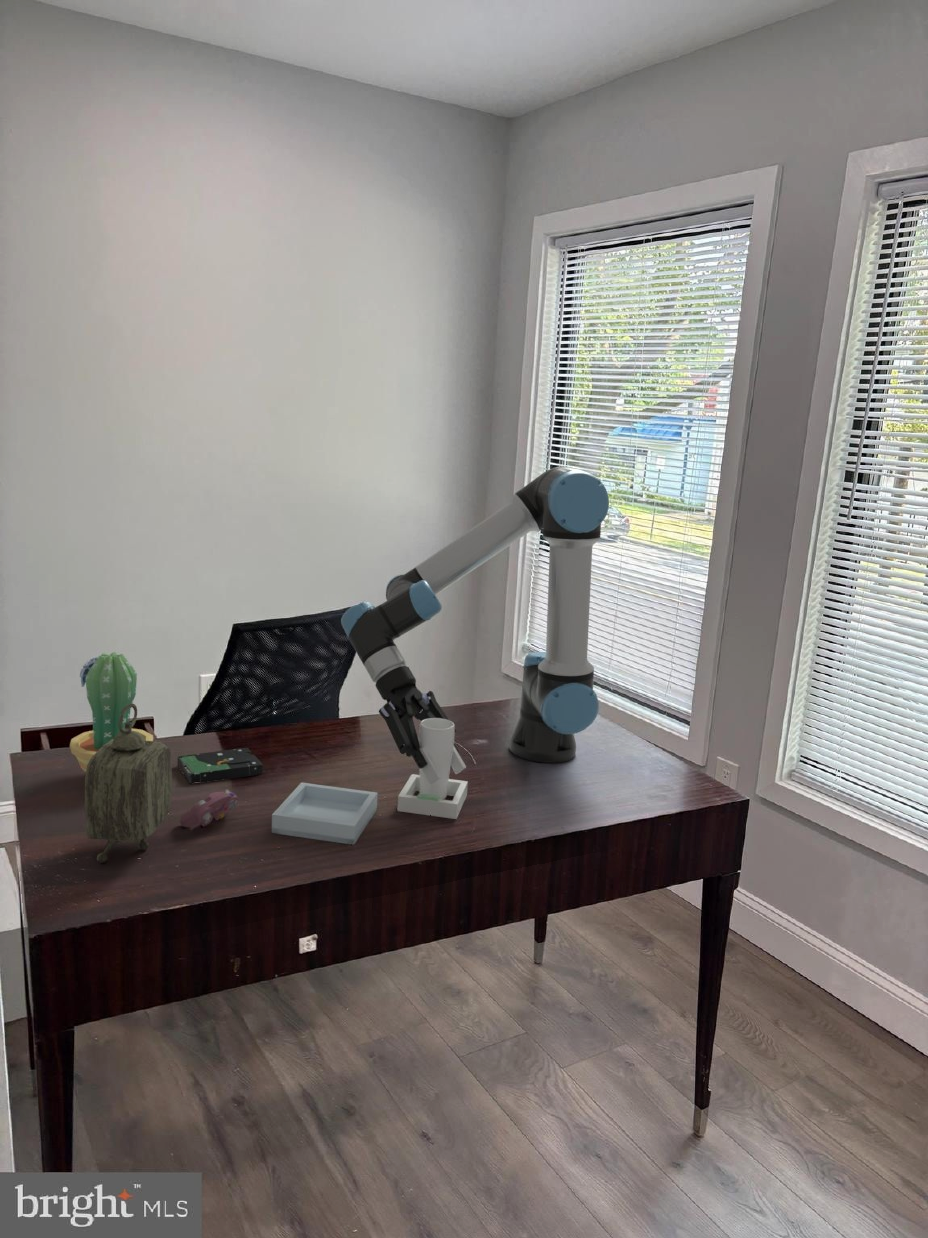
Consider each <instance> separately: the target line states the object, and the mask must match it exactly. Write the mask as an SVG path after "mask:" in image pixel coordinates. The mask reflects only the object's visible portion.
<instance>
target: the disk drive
mask: <svg viewBox="0 0 928 1238" xmlns="http://www.w3.org/2000/svg"><path fill="white" fill-rule="evenodd" d="M178 767H179V768H180V769H181V771H182V772H183V773H184V775H185V776H184V775H183V776H184V778H185V777H186V778H187V779H188V781H189V782H190V783H194V782H205V783H208V782H207V781H211V782H215V781H214V780H218V781H223V780H222V779H225V780H230V778H232V779H239V778H243V777H251V776H259V775H262V774H263V771H264V764H263V763H262V762H261V761H260V760H259V758H257V756H256V755H255V754H252V751H251V750H250V749H249V747H241V748H239V747H238V748H234V749H225V750H218V751H217V750H216V751H210V752H209V751H208V752H203V753H201V752H200V753H195V754H194V753H193V754H186V755H180V756H177V768H178ZM179 768H178V769H179ZM180 769H179V770H180ZM181 771H180V772H181ZM182 772H181V773H182ZM186 778H185V779H186ZM187 779H186V780H187ZM188 781H187V782H188ZM189 782H188V783H189ZM190 783H189V784H190Z"/></svg>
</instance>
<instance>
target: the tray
mask: <svg viewBox="0 0 928 1238" xmlns="http://www.w3.org/2000/svg"><path fill="white" fill-rule="evenodd" d="M378 793H379V792H375V791H368V790H362V789H361V790H360V789H354V788H353V789H352V788H346V787H345V788H344V787H339V786H332V785H331V786H330V785H323V784H315V783H308V782H300V783H299V784H298V785H297V787H295V789H294V790H293V791H292V792H291V793H290V794H289V795H288V796H287V798H286V799H285V800H284V801H283V802H282V803H281V804H280V805H279V807H277V809H275V810H274V812H273V813H272V814H271V834H276V835H284V836H291V837H298V838H303V839H311V840H318V841H324V842H331V843H337V844H338V843H339V844H346V845H351V844H352V846H354V845H355V844H356V842H357V841H358V840H359V838H360V836H361V835H362V833H363V832H364V830H366V827H367V826H368V824H369V822H370V821H371V820H372V818H373V816H374V814H376V812H377V811H378Z"/></svg>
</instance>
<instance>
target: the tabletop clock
mask: <svg viewBox="0 0 928 1238" xmlns="http://www.w3.org/2000/svg"><path fill="white" fill-rule="evenodd" d="M130 708H131V709H133V711H134V712H133V713H134V714H133V718H132V720H131V721H130V720H129V721H128V722H126V723H125V729H122V720H123V717H124V715H125V713H126V712H127V711H128V710H129V709H130ZM137 717H138V709H137V705H136V704H135V703H134V702H133V703H131V704H128V705H127V706H126V707H125V708H124V709H123V710H122V712H121V714H120V717H119V725H118V726H119V730H120V732H121V733H118V734H117V735H116V736H115V738H114V739H112V740H110V741H109V742H107V743H106V744H105V745H103V746H102V747H101V748H100V749H99V750H98V751H97V752H96V753H95V754H94V755H93V756H92V758H91V759H90V761H89V763H88V765H87V768H86V773H85V778H84V815H85V829H86V834H87V838H88V839H92V840H102V841H107V844H106V845H105V848H104V850H103V852H100V853H98V854H97V856H96V860H97V862H98V863H99V864H104V863H106V862H107V860H108V855H107V854H108V852H109V850H110V849H111V848H112V847H113V845H114V844H115V842H127V843H137V842H139V843H138V848H139V850H141V851H146V850H148V848H149V842H148V841H147V840H145V839H146V838H148V837H150V836H151V835H153V834H154V832H156V830H157V829H158V828H159V827H160V826H161V824H162V823H163V822H164V820H165V819H166V817H167V816H168V814H169V811H170V810H171V809H170V808H171V801H172V755H171V754H172V753H171V748H170V747H168V746H167V745H166V744H164V743H163V742H161V741H156V740H153V741H144V738H143V737H142V735H141V734H139V733H138V732H136V731H132V729H133V728H134V726H135V724H136V722H137Z"/></svg>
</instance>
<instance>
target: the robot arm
mask: <svg viewBox="0 0 928 1238" xmlns="http://www.w3.org/2000/svg"><path fill="white" fill-rule="evenodd" d="M609 499H610V498H609V494H608V491H607V489H606V487H605V485H604V484H603V482H602V481H601V480H600V479H599V478H598V477H597V476H595V475H594V474H592V473H591V472H589V471H586V470H584V469H578V468H573V467H571V466H570V467H569V466H564V465H563V466H556V467H552V468H550V469H548V470H545V471H544V472H543V473H541V474H540V475H539V476H537V477H536V478H534V479H533V480H532V481H530V482H529V483H527V484H526V485H525V486H523V487H522V488H521V489H519V490H518V491H516V492H514V494H512V498H511V501H510V502H509V503H507V504H506V505H504V506H503V507H501V508H500V509H498V510H497V511H495V512H494V513H493V514H491V515H490V516H488V517H486V518H485V519H484V520H483V521H481V522H479V523H478V524H476V525H475V526H474V527H472V528H470V529H469V530H468V531H466V532H465V533H463V534H461V535H460V536H459V537H457V538H456V539H455V540H453V541H451V542H450V543H449V544H447V545H446V546H444V547H443V548H440V550H438V551H437V552H436V553H434V554H433V555H431V556H430V557H428V558H427V559H425V560H423V561H422V562H420V563H419V564H417V565H416V566H415V567H414V568H412V569H410V570H409V571H407V572H406V573H404V574H398V575H396V576H394V577H392V578H391V579H390V580H389V582H388V583H387V585H386V590H385V597H386V601H384V602H382V603H381V604H379V605H377V606H374V605H373V604H372V602H370V601H363V602H360V603H358V604H355V605H353V606H351V607H349V608H348V609H347V610H346V611H345V612H343V614H342V616H341V619H340V623H341V626H342V628H343V629H344V633H345V634H346V636H347V639H348V640H349V642H350V644H351V645H352V647H353V649H354V651H355V653H356V654H357V656H358V657H359V659H360V662H361V663H362V664H363V666H364V668H365V670H366V671H367V674H368V675H369V676H370V679H371V681H372V682H373V683H375V688H376V690H377V692H378V694H379V695H380V697H381V698H382V700H383V701H386V703H385V704H384V705H383V706H382V707H380V709H379V710H378V713H379V714H380V716H381V717H382V719H384V721H385V723H386V725H387V727H388V729H389V732H390V734H391V736H392V738H393V740H394V743H395V744H396V746H397V749H398V751H399V753H400V754H401V755H406V757H412V758H413V760H414V762H415V763H416V766H417V767H418V768H420V769H422V771H423V772H424V774H425V776H426V778H427V780H428V781H429V783H430V785H431V784H433V783H434V782H436V781H437V780H438V779H439V778H441V776H440V774H439V772H438V771H437V769H436V767H435V765H434V763H433V762H432V760H431V758H430V756H429V755H428V753H427V751H426V750H425V748H424V747H423V748H421V749H419V748H420V745H419V736H418V733H417V730H416V727H415V726H416V725H415V723H414V719H413V718H415V719H416V720H417V721H418V720H419V721H420V722H421V721H422V720H424V719H428V718H442V719H447V720H450V719H449V718H448V716H447V714H446V712H445V711H444V710H443V708H442V707H441V706H440V704H439V703H438V702H437V699H436V696H435V694H434V692H433V691H432V690H429V691H428V692H427V693H426V692H425V693H424V692H422V691H421V690H419V688H417V684H416V683H417V679H416V677H415V676H414V673H413V672H412V670H411V669H410V667H409V666H407V661H406V660H405V658H404V656H403V655H402V653H401V651H400V649H399V647H397V645H396V643H395V640H397V639H398V638H400V637H401V636H403V635H404V634H406V633H408V632H410V631H411V630H413V629H415V628H416V627H418V626H420V625H422V624H424V623H426V622H428V621H430V620H431V619H432V618H433V617H435V616H437V614H440V612H441V611H442V608H443V607H442V604H441V602H440V600H439V599H438V597H437V595H438V594H440V593H441V592H443V591H445V590H446V589H447V588H449V587H450V586H452V585H453V584H455V583H457V582H458V581H459V580H461V579H462V578H464V577H466V576H467V575H468V574H470V573H471V572H472V571H474V570H475V569H477V568H478V567H480V566H481V565H483V564H484V563H486V562H487V561H488V560H490V559H492V558H494V557H495V556H497V555H498V554H500V553H501V552H502V551H504V550H505V549H507V548H508V547H509V546H511V545H513V544H514V543H516V542H517V541H518V540H520V539H522V538H523V537H524V536H526V535H527V534H529V533H531V532H535V533H539V532H541V531H542V538H544V540H546V542H547V543H548V545H549V554H548V556H549V559H548V584H547V618H546V643H545V644H546V645H545V647H546V648H545V651H534V652H529V653H528V654H526V656H525V658H524V661H523V662H524V663H523V665H522V668H523V669H522V670H523V673H522V683H521V685H522V686H521V695H520V696H521V697H520V711H519V716H518V718H517V722H516V725H515V727H514V729H513V731H512V733H511V736H510V739H509V750H510V752H511V753H512V754H513V755H514V756H516V757H518V758H521V759H523V760H526V761H531V762H535V763H536V762H537V763H545V764H549V763H550V764H554V763H555V764H557V763H564V762H567V761H571V760H572V759H574V758H575V757H576V752H577V742H576V738H575V734H578V733H581V732H583V731H585V730H586V729H587V728H588V727H590V726H591V725H592V724H593V722H594V721H595V720H596V718H597V717H598V713H599V709H600V707H599V699H598V696H597V693H596V692H595V690H594V679H595V678H594V675H595V667H594V665H593V664H592V663H591V662H590V661H589V660H588V650H589V649H588V648H589V629H590V628H589V627H590V625H589V624H590V605H591V586H592V585H591V582H592V580H591V579H592V559H593V546H594V545H595V544H596V543H598V541H600V539H601V535H602V534H601V530H602V528H601V527H602V523H603V521H605V519H606V518H607V514H608V511H609V506H610V500H609ZM456 733H457V730H456V728H455V727H454V734H456ZM459 753H460V752H459V749H458V747H457V745H456V743H454V746H453V753H452V760H451V767H450V768H452V770H453V772H454V774H455V775H458V774H459V773H461V772H462V771H464V770H465V769H466V768H467V765H466V764H465V761H464V760H463V758H462V757H461V754H459Z"/></svg>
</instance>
